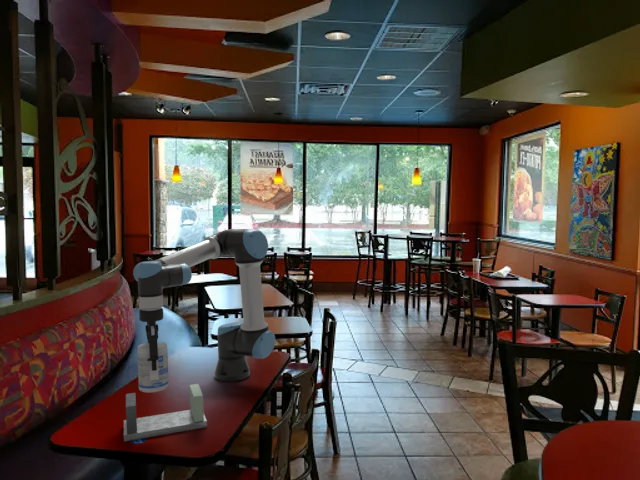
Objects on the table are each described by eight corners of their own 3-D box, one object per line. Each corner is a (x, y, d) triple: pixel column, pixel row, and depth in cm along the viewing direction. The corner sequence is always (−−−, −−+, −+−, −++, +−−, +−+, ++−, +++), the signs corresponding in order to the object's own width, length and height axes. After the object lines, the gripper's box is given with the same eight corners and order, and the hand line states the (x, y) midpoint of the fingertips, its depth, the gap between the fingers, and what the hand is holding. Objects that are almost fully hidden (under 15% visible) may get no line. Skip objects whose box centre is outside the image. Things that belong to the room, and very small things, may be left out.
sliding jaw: (198, 407, 176) (198, 383, 176) (203, 420, 165) (202, 395, 164) (190, 408, 175) (189, 384, 175) (194, 422, 164) (193, 396, 163)
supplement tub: (157, 395, 158) (155, 350, 157) (132, 392, 161) (130, 348, 160) (174, 384, 168) (173, 342, 167) (151, 381, 170) (149, 340, 169)
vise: (202, 413, 177) (200, 383, 176) (207, 426, 166) (206, 394, 165) (124, 426, 167) (122, 394, 167) (123, 441, 156) (122, 407, 155)
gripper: (138, 303, 172) (140, 366, 173) (139, 315, 151) (142, 387, 152) (160, 301, 174) (163, 363, 176) (165, 313, 154) (167, 383, 155)
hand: (153, 374), depth 164 cm, fingers closed on supplement tub, 10 cm apart
